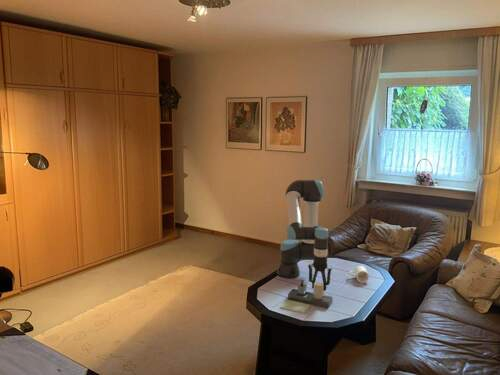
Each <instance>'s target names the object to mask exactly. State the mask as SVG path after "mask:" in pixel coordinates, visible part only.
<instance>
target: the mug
mask: <svg viewBox="0 0 500 375" xmlns="http://www.w3.org/2000/svg"><path fill="white" fill-rule="evenodd" d="M348 274H349V276H351V277H355V278H356V280H357V282H359V283H367V282H368V281H369V279H370V275H369V272H368V270H367V269H366V267H365V266H363V265H358V266H356V267H355V268H354V270H350V271H349V272H348Z"/></svg>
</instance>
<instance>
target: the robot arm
mask: <svg viewBox="0 0 500 375" xmlns="http://www.w3.org/2000/svg"><path fill="white" fill-rule="evenodd" d="M284 195H285V200H286V201H287V212H288V224H289V226H287V228H286V240H283V241H282V242H281V243H280V255H279V256H280V257H279V258H280V259H279V260H280V263H279V265H278V267H277V272H276V274H277V276H279V277H281V276H282V277H281V278H284V277H285V279H295V278H298V277H300V273H301V272H300V267H299V265H298V264H299V263H298V262H299V261H313V263H309V264H308V265H307V266H308V281H309V282H310V283H311V289H313V292H312V293H313V295H314V291H315V284H316V283H317V282H316V280H317V277H318V273H319V272H320V273H321V278H322V279H321V280H322V283H323V285H322V297H323V296H324V295H325V292H326V290H327V286H329V285H330V283H331V276H332V274H331V273H332V270H333V268H332V267H330V266H329V265H328V250H329V246H328V245H329V229H328V228H326V227H323V226H320V225H318V223H319V222H318V221H319V220H318V218H319V203H321V201H322V199H324V197H325V192H324V186H323V182H322V181H321V180H316V179H303V180H301V179H298V180H293V181H292V182H291V183H290V184H289V185H288V186H287V188H286V190H285V194H284ZM300 199H302V201H303V203H304V204H305V205H304V226H303V220H302V212H301V203H300V202H301V201H300ZM299 241H301V242H299ZM313 268H314V273H313ZM326 269H327V274H326ZM326 275H327V276H326Z"/></svg>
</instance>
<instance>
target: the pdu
mask: <svg viewBox="0 0 500 375" xmlns="http://www.w3.org/2000/svg"><path fill="white" fill-rule="evenodd" d="M304 281H305V280H303V279H302V280H300V283H299V284H298V285H297V289H295V288H292V289H291V290H290V291H289V292H288V294H287V300H291V301H295V302H300V303H304V304H309V305H310V306H315V307H320V308H324V309H325V308H326V309H329V308H330V307H331V305H332V304H333V298H334V297H333V296H331V295H325V294H324V296H323V298H322V299H316V298H314V295H313V292H310V291H307V284H304Z"/></svg>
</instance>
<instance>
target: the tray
mask: <svg viewBox="0 0 500 375" xmlns="http://www.w3.org/2000/svg"><path fill="white" fill-rule="evenodd" d="M310 307H311V304H306V303H301V302H297V301H292V300H288V299H286V300H285V301H283V303H282V305H280V307H279V308H280V309H282V310H283V309H284V310H287V311H291V312H297V313H300V314H306V312H307V311H308V309H309V308H310Z"/></svg>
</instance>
